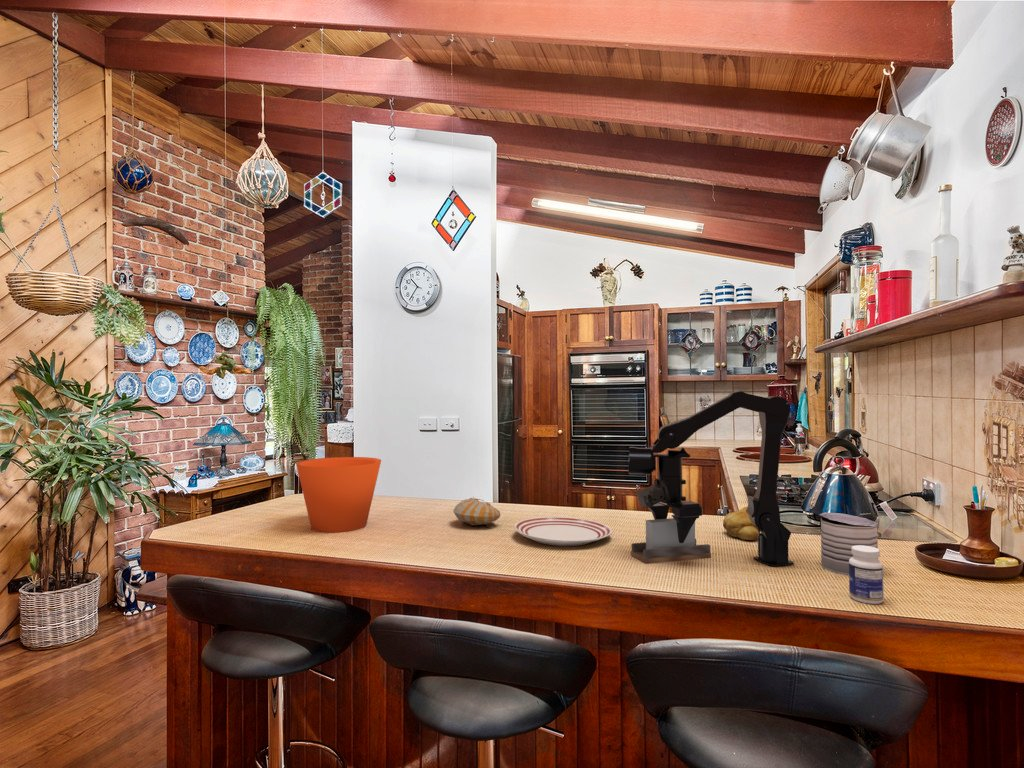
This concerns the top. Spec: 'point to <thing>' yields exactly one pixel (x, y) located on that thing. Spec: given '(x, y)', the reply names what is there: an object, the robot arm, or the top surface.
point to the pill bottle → (866, 575)
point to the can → (844, 539)
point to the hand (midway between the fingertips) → (670, 538)
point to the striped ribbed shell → (476, 512)
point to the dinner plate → (562, 530)
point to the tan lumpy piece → (740, 525)
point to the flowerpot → (338, 491)
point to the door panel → (666, 534)
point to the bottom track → (669, 553)
